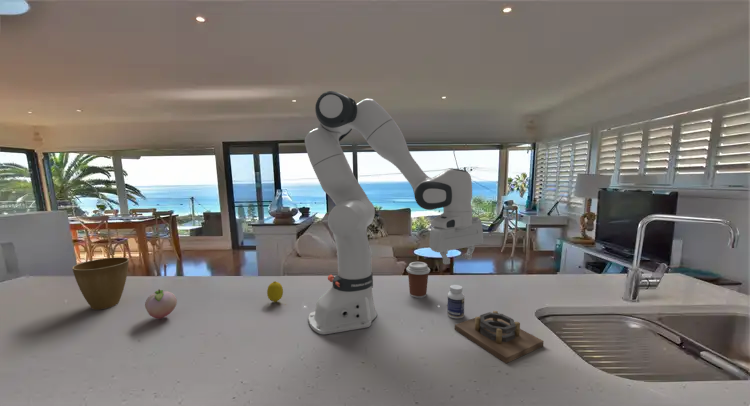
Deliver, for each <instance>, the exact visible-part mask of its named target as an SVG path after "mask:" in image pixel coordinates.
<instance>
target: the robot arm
mask: <svg viewBox="0 0 750 406" xmlns="http://www.w3.org/2000/svg"><path fill="white" fill-rule="evenodd" d="M314 111H315V115H316V118H317V120H318V122H319V123H318V126H316V128H314V129H312V130H310V131H309V132H308V133H307V134H306V135H305V138H304V145H305V150H306V153H307V156H308V159H309V161H310V164H311V166H312V169H313V171H314V173H315V175H316V178H317V180H318V182H319V184H320V186H321V189H322V190H323V192H325V194H327V195H328V196H329V198H330V199H331V200H332V202H333V203H334V204H335V206H333V208H332V209H331V210H330V211H329V213H328V216H327V225H328V228H329V230H330V232H332V234H333V239H334V243H335V248H336V254H337V255H336V256H337V273H336V274H335V276H333V274H328V276H327V280H328V281H329V283H330V282H331V283H332V286H331V287H330V288H329V289H328V290H326V291H325V292H324V293H323V294H322V295H321V296H320V297H319V298H318V299H317V300H316V302H315V310H314V311H311V312H310V313H309V314H308V325H309V326H310V327H311V329H312V330H313V331H314V332H315V333H317V334H319V335H328V334H334V333H335V334H337V333H343V332H347V331H348V332H349V331H353V330H354V331H355V330H360V329H364V328H369V327H371V325H372V322H373V321H374V320H375V319H376V317H377V316H378V315H377V314H378V312H377V309H376V306H375V301H374V296H373V288H374V276H373V272H372V249H371V247H370V243H369V238H368V231H367V230H368V227H369V226H370V225H371V224H372V223H373V221H374V219H375V216H376V215H375V214H376V210H375V209H376V208H375V206H374V204H373V202H371V200H370V199H369V197H368V195H367V194H366V192H365V191H364V189H363V186H361V184H360V183H359V181H358V180H357V178H356V177H355V175H354V173H353V170H352V168H351V166H350V164H349V161H348V159H347V157H346V155H345V153H344V151H343V148H342V147H341V143H340V142H341V141H342V140H343V139H344V138H345V137H346V136H348V135H349V134H350V133H351V132H352V130H355V131H357V132H358V133H359V134H360V135H361V136H362V138H364V140H365V141H366V143H367V144H368V145H369V146H370V148H371V149H372V150H373V151H374V152H375V153H377V154H378V155H379V156H380V157H381V158H383V159H385V160H386V161H388V162H389V163H391V164H392V165H394V166H395V167H396V168H397V169H398V170H399V171H400V173H401V174H402V176H403V177H404V178H405V179H406V181H407V182H408V183H409V184H410V186H411V188H412V190H413V195H414V201H415V202H416V204H417V205H418V206H419V207H420V208H422V209H423V210H426V211H427V210H428V211H431V210H432V211H433V210H436V209H442V208H443V213H441V214H439V215H437V216H436V217H434V218H432V219H430V226H432V227H431V229H430V230H429V231H430V232H429V248H430V250H431V251H433V252H435V253H439V255H440V256H441V258H442V263H443V264H444V265H450V264H451V258H450V257H448V252H449V251H453V250H458V249H463V248H467V251H466V253H464V259H465V260H472V258H473V256H472V255H473V252H474V251H475V247H476V246H479V245H482V244H483V242H484V230H483V226H482V220H481V219H480V218H479V217H478V216H473V207H472V199H473V183H472V176H471V174H470V173H469V172H468V171H467V170H464V169H460V168H459V169H458V168H453V167H451V168H446V169H445V170H444V171H442V172H440V173H439V174H437V175H435V176H433V177H430V176H428V175H427V174H426V172H424V171H423V169H422V168H421V167H420V165H419V164H418V163H417V161H416V160H415V158H414V157H413V156H412V154H411V152H410V150H409V147H408V144H407V141H406V138H405V137H404V134H403V132H402V130H401V129H400V128H401V127H399V126H398V124H397V122H396V121H395V119H394V118H393V117H392V116H391V114H390V113H388V111H387V110H386V109H385V108H384V107H383V106H382V105H381V104H379V103H378V102H377V101H376V100H375V99H373V98H364V99H362V100H361V101H359V102H356V100H355V99H354V98H352V97H349V96H347V95H344V94H343V93H340V92H338V91H335V90H334V91H333V90H331V91H330V90H329V91H325V92H323V93H322V94H320V95H319V96H318V97H317V100H316V102H315V109H314Z"/></svg>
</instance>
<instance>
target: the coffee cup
mask: <svg viewBox="0 0 750 406" xmlns="http://www.w3.org/2000/svg"><path fill="white" fill-rule="evenodd" d="M428 266H429V265H428V264H427V262H423V261H413V262H410V263H409V264H408V266H407V267H406V268H405V269H406V270H405V271H406V272H407V275H408V276H407V277H408V287H409V296H411V297H412V298H417V299H422V298H425V297H427V292H428V280H429V273H430V272H431V269H430V267H428Z"/></svg>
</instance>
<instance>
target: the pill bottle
mask: <svg viewBox="0 0 750 406" xmlns="http://www.w3.org/2000/svg"><path fill="white" fill-rule="evenodd" d="M446 303H447V305H446V306H447V311H446V312H447V313H446V314H447V316H448V317H449V318H452V319H462V318H464V316H465V294H464V293H463V286H462V285H459V284H451V285H450V286H449V292H447V302H446Z"/></svg>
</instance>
